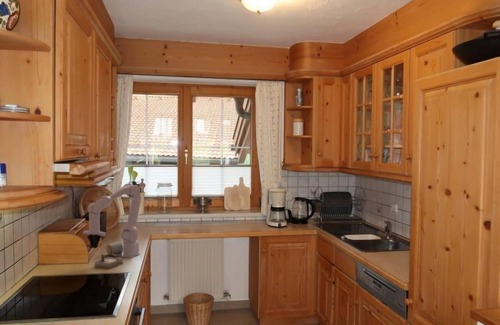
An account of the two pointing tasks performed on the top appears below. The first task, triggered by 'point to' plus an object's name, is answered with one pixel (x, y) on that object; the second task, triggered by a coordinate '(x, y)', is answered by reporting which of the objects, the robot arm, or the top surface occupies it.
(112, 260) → the dial
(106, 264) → the dial plate
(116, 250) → the ceramic mug
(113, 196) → the robot arm
